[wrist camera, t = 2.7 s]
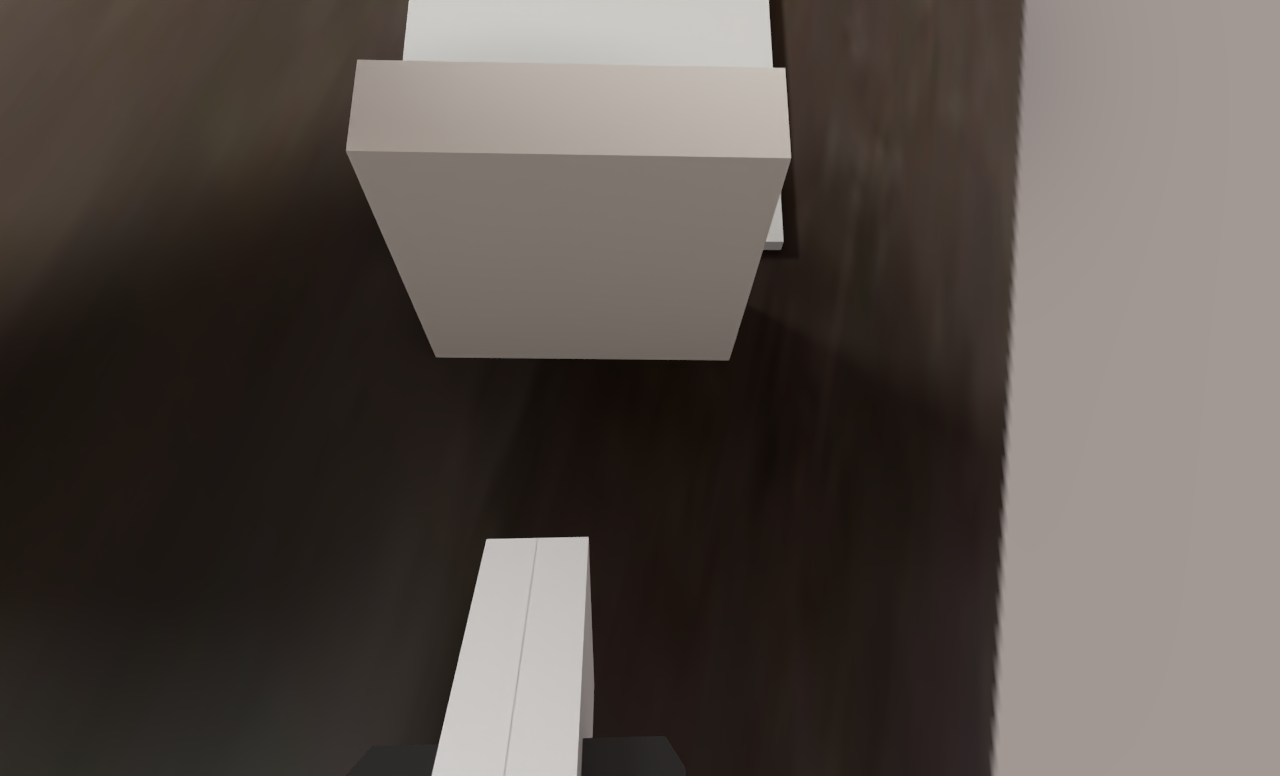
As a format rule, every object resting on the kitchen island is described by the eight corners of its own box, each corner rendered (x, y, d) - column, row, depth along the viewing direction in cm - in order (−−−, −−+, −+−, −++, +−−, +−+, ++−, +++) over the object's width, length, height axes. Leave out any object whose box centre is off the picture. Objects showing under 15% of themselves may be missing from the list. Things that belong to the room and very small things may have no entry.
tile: (729, 360, 33) (791, 157, 22) (435, 357, 33) (345, 151, 21) (726, 289, 34) (784, 60, 23) (441, 285, 34) (358, 52, 22)
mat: (781, 250, 35) (783, 241, 34) (387, 244, 34) (384, 236, 34) (760, -89, 40) (762, -101, 40) (423, -97, 40) (420, -109, 39)
